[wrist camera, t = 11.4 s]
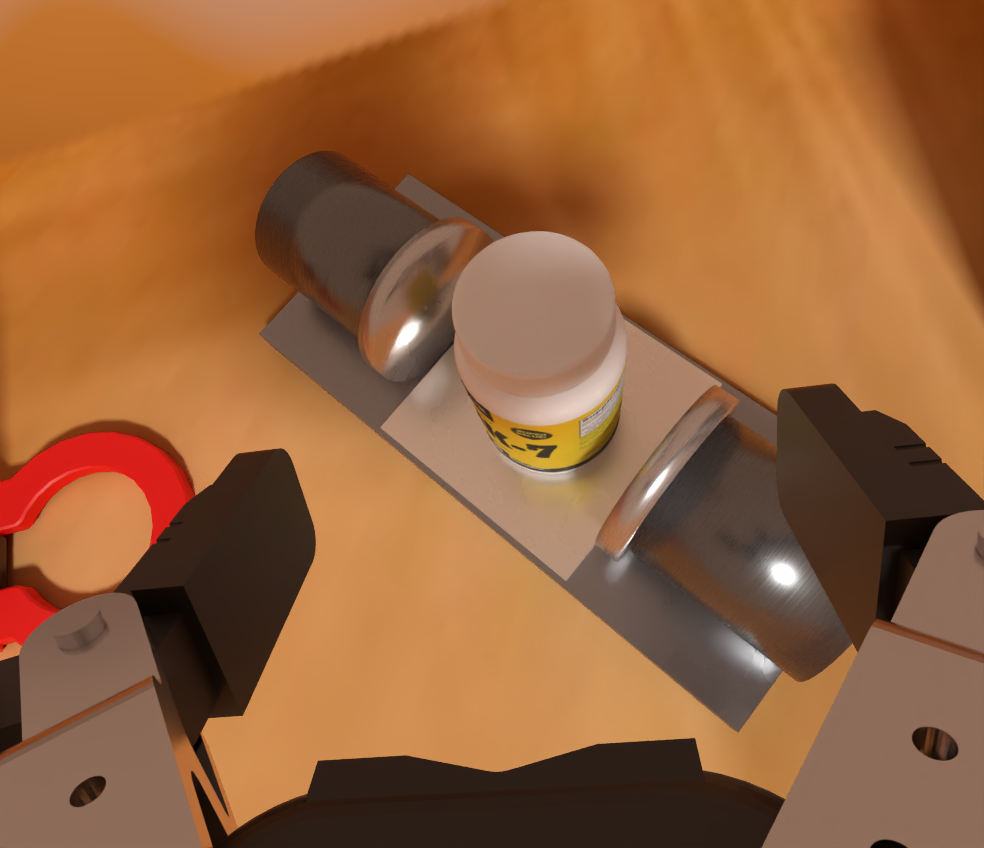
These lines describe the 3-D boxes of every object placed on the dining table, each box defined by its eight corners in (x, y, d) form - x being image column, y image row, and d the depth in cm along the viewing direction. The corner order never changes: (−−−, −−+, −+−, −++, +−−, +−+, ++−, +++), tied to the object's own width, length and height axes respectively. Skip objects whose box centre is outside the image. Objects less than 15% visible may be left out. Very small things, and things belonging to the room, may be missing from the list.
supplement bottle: (458, 425, 25) (394, 320, 17) (539, 326, 26) (513, 182, 18) (566, 505, 24) (550, 432, 16) (648, 398, 24) (672, 276, 16)
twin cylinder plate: (270, 344, 29) (180, 261, 23) (414, 188, 30) (366, 70, 24) (732, 729, 22) (782, 758, 16) (893, 506, 23) (996, 455, 17)
